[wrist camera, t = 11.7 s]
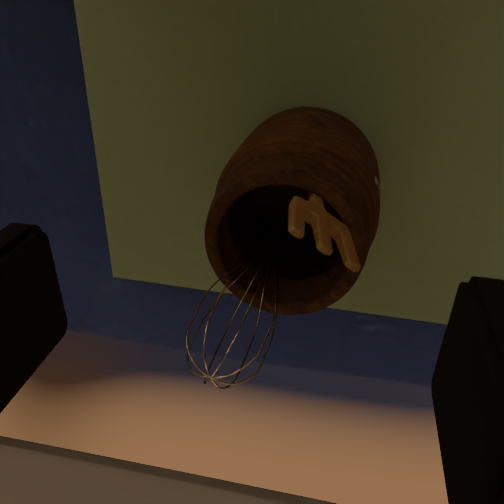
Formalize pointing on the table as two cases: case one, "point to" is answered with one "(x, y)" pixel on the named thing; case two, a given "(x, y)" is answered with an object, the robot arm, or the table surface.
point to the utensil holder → (292, 218)
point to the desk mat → (303, 95)
